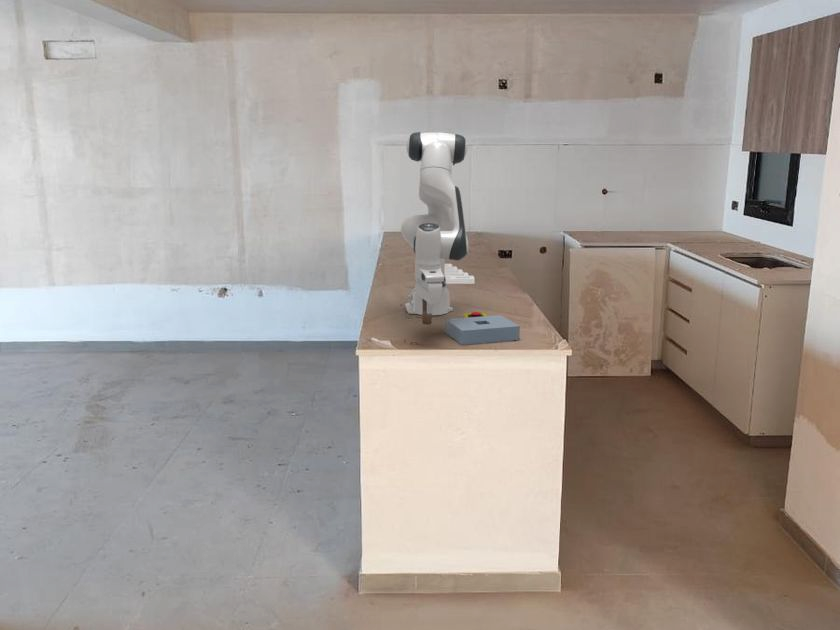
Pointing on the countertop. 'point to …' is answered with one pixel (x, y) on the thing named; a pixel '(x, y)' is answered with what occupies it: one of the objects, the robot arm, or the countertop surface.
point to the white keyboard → (457, 276)
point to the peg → (426, 317)
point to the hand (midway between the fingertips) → (427, 311)
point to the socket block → (482, 329)
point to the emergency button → (474, 314)
